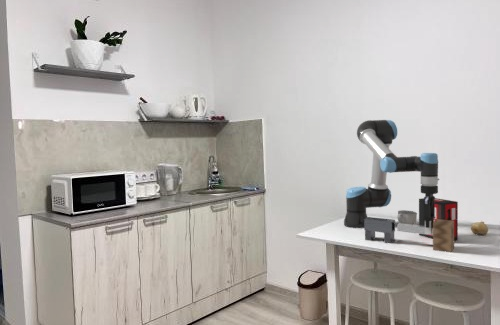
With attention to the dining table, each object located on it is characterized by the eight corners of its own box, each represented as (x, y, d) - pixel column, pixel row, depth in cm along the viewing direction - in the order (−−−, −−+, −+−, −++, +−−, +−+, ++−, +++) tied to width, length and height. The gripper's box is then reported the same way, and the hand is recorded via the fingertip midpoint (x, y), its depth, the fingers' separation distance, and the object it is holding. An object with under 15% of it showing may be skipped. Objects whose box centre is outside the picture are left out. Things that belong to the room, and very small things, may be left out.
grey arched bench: (364, 239, 198) (363, 219, 198) (368, 236, 204) (368, 216, 203) (391, 243, 190) (391, 222, 189) (395, 240, 195) (395, 219, 195)
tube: (396, 231, 189) (396, 214, 188) (399, 229, 193) (399, 213, 192) (443, 236, 176) (443, 219, 176) (445, 234, 180) (445, 217, 180)
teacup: (407, 222, 237) (407, 209, 236) (421, 225, 227) (421, 212, 226) (389, 224, 232) (389, 211, 231) (402, 228, 222) (402, 214, 221)
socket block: (433, 249, 177) (433, 222, 177) (436, 245, 184) (436, 219, 184) (450, 252, 173) (450, 224, 172) (454, 247, 180) (454, 220, 179)
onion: (483, 236, 198) (484, 223, 197) (468, 234, 204) (468, 221, 204) (490, 234, 202) (490, 221, 202) (474, 231, 209) (474, 219, 208)
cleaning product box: (457, 240, 192) (457, 201, 191) (444, 242, 189) (444, 203, 188) (431, 233, 208) (431, 197, 206) (419, 235, 204) (418, 198, 203)
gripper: (433, 187, 171) (433, 237, 173) (441, 183, 186) (441, 229, 187) (416, 186, 176) (416, 235, 177) (425, 182, 190) (425, 228, 191)
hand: (429, 232), depth 182 cm, fingers closed on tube, 5 cm apart
